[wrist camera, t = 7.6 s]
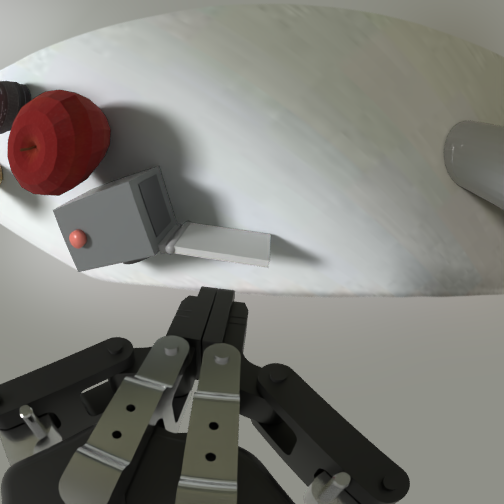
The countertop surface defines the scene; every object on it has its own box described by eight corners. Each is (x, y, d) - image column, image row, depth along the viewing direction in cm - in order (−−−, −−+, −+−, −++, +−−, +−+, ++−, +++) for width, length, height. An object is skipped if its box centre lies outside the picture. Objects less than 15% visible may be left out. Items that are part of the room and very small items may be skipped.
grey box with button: (165, 163, 34) (132, 180, 26) (187, 232, 38) (163, 266, 30) (90, 190, 36) (48, 212, 28) (112, 249, 40) (78, 282, 32)
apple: (72, 188, 36) (8, 223, 24) (49, 114, 32) (-20, 127, 20) (141, 159, 34) (80, 185, 22) (116, 75, 30) (48, 67, 18)
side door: (269, 242, 37) (267, 270, 31) (183, 229, 37) (165, 254, 31) (270, 233, 37) (269, 260, 30) (184, 220, 37) (165, 244, 30)
